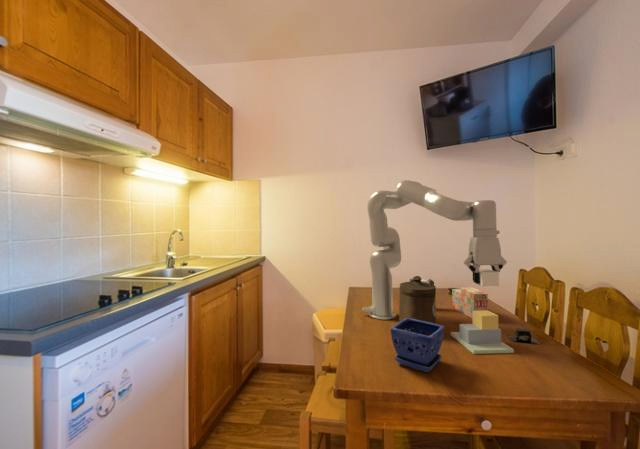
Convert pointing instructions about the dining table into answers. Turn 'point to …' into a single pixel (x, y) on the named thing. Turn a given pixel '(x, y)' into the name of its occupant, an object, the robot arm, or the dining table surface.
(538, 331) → the dining table surface
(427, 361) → the flower pot
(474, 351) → the green plate
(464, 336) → the slate-blue long brick
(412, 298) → the wooden container
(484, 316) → the mustard brick
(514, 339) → the black piece
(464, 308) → the stack of blocks
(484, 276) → the cream brick
